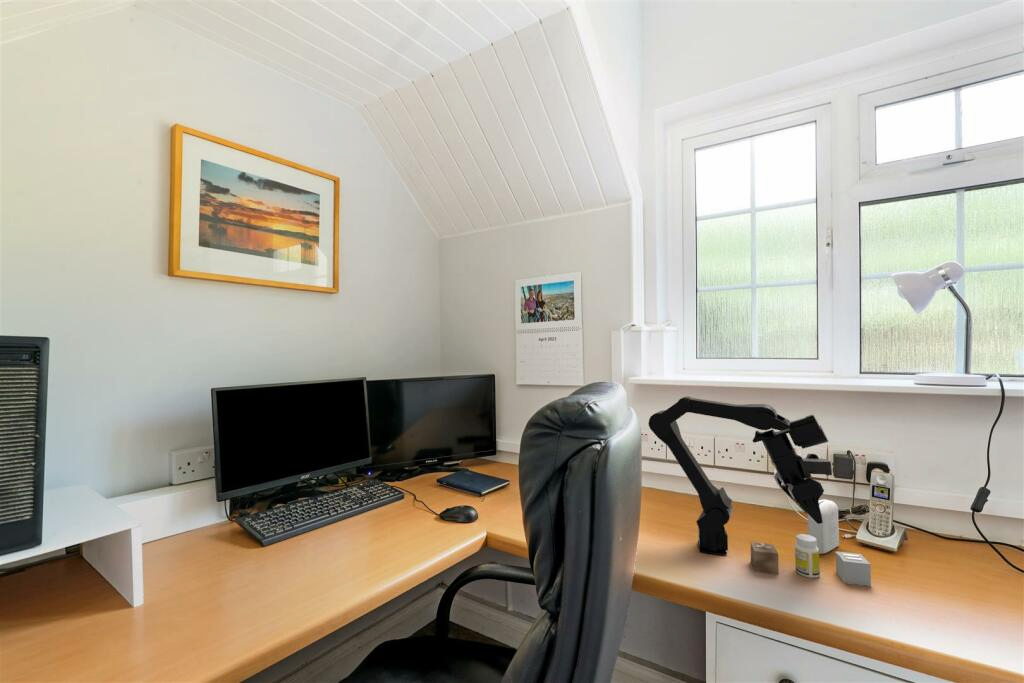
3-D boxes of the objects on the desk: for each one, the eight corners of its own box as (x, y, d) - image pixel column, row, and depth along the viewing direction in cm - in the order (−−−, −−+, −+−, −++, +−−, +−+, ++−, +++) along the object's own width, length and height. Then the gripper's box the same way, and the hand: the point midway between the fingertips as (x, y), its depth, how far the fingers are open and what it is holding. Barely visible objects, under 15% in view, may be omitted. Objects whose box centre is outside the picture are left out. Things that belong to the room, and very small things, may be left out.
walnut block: (754, 571, 106) (754, 550, 106) (750, 561, 111) (750, 541, 111) (778, 574, 104) (778, 552, 104) (773, 564, 109) (773, 543, 109)
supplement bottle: (816, 569, 106) (815, 534, 106) (822, 579, 102) (821, 543, 102) (793, 567, 108) (792, 532, 108) (798, 576, 103) (797, 540, 103)
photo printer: (823, 539, 122) (822, 494, 122) (841, 545, 118) (840, 499, 118) (805, 550, 116) (804, 502, 116) (824, 556, 113) (823, 507, 113)
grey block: (844, 583, 100) (843, 560, 100) (836, 572, 105) (835, 550, 105) (871, 586, 99) (870, 563, 99) (861, 575, 103) (860, 553, 103)
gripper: (830, 447, 98) (867, 518, 94) (805, 439, 115) (836, 498, 112) (778, 464, 101) (812, 533, 97) (761, 453, 118) (790, 511, 115)
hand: (813, 517), depth 105 cm, fingers open, 9 cm apart
